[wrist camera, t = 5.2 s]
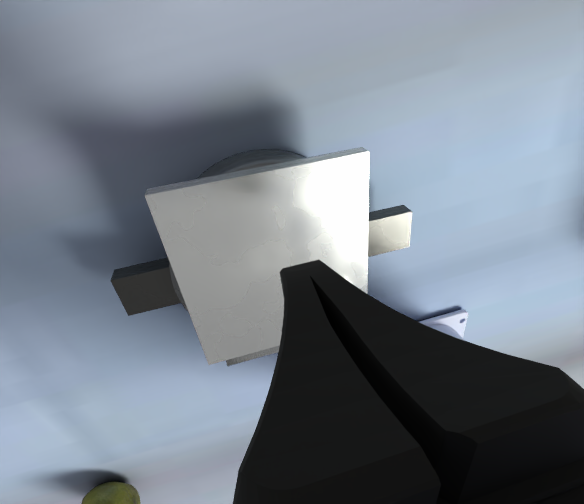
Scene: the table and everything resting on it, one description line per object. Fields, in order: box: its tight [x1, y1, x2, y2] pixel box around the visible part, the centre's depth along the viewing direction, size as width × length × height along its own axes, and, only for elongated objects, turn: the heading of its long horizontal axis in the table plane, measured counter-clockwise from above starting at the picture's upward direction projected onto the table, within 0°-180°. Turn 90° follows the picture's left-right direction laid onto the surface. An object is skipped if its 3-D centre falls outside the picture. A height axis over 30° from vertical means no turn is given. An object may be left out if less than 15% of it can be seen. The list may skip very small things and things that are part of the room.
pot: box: [111, 149, 412, 316], centre depth 20 cm, size 12×17×3 cm
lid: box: [145, 147, 369, 366], centre depth 18 cm, size 12×10×2 cm
